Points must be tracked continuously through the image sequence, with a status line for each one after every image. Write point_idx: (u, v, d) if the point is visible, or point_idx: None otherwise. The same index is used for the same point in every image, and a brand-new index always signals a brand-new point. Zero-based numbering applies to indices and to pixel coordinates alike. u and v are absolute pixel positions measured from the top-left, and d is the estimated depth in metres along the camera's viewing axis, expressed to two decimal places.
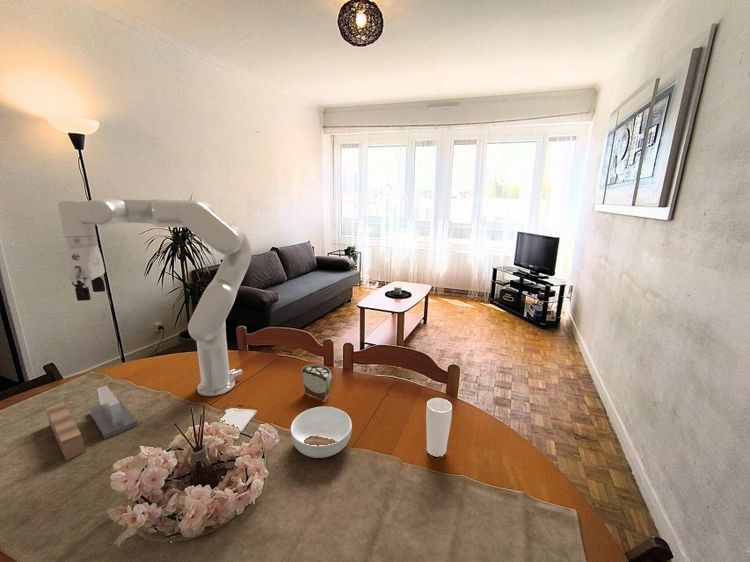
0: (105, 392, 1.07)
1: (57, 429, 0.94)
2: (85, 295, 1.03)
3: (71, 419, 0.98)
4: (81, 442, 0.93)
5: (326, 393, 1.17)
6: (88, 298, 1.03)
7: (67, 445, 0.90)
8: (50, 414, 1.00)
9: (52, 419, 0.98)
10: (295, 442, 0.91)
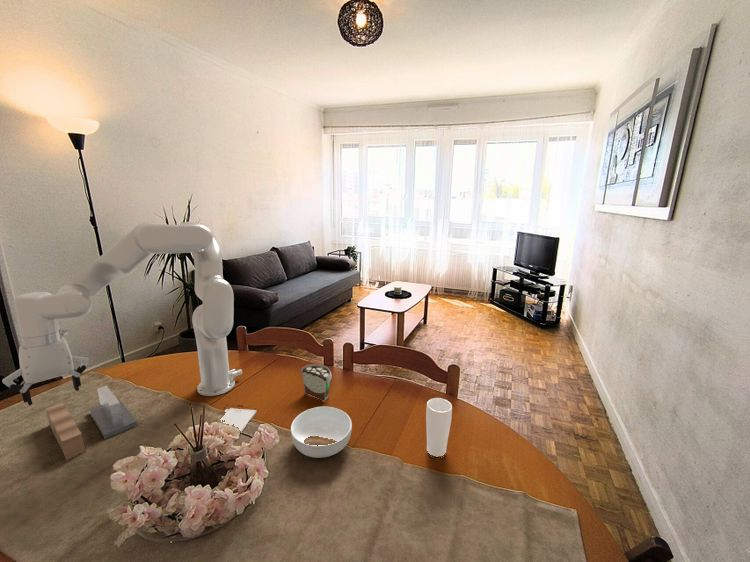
0: (105, 392, 1.07)
1: (57, 429, 0.94)
2: None
3: (71, 419, 0.98)
4: (82, 442, 0.93)
5: (326, 393, 1.17)
6: None
7: (68, 445, 0.90)
8: (50, 414, 1.00)
9: (52, 419, 0.98)
10: (295, 442, 0.91)
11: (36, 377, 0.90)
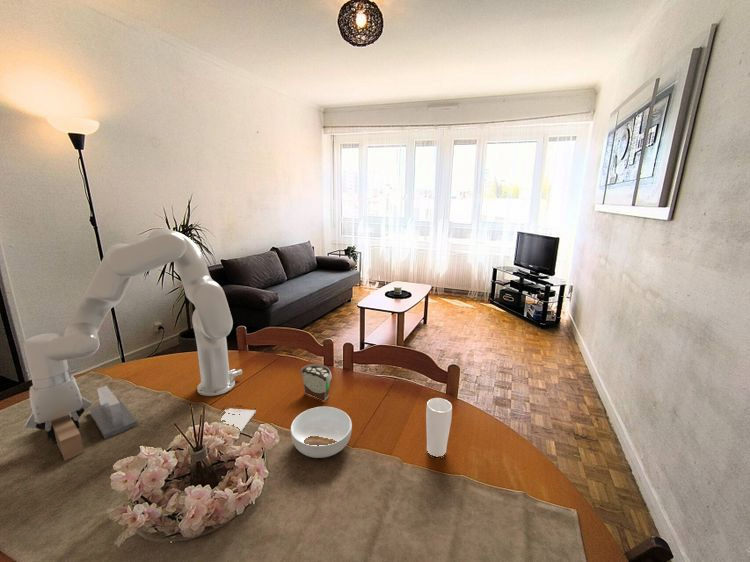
0: (105, 392, 1.07)
1: (56, 429, 0.94)
2: None
3: (70, 419, 0.98)
4: (80, 442, 0.92)
5: (326, 393, 1.17)
6: None
7: (66, 445, 0.90)
8: None
9: None
10: (295, 442, 0.91)
11: (47, 416, 0.93)
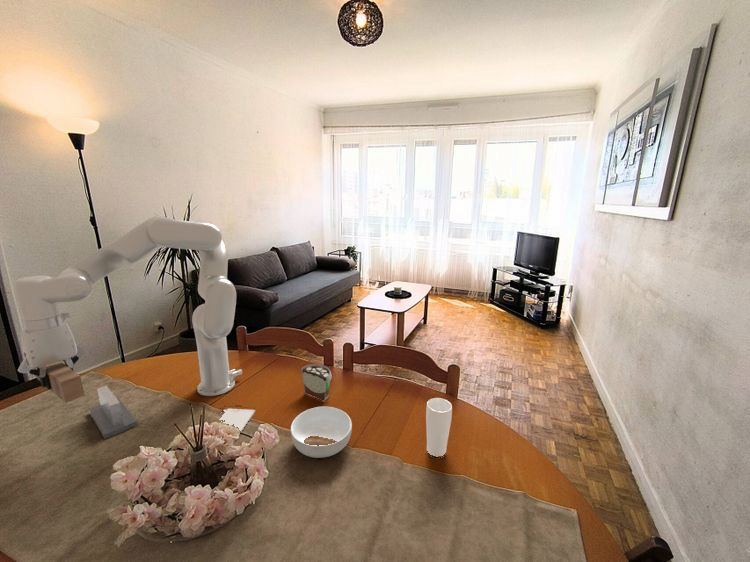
0: (105, 392, 1.07)
1: (52, 373, 0.91)
2: None
3: (64, 366, 0.95)
4: (80, 384, 0.91)
5: (326, 393, 1.17)
6: None
7: (66, 386, 0.88)
8: None
9: None
10: (295, 442, 0.91)
11: (41, 361, 0.90)
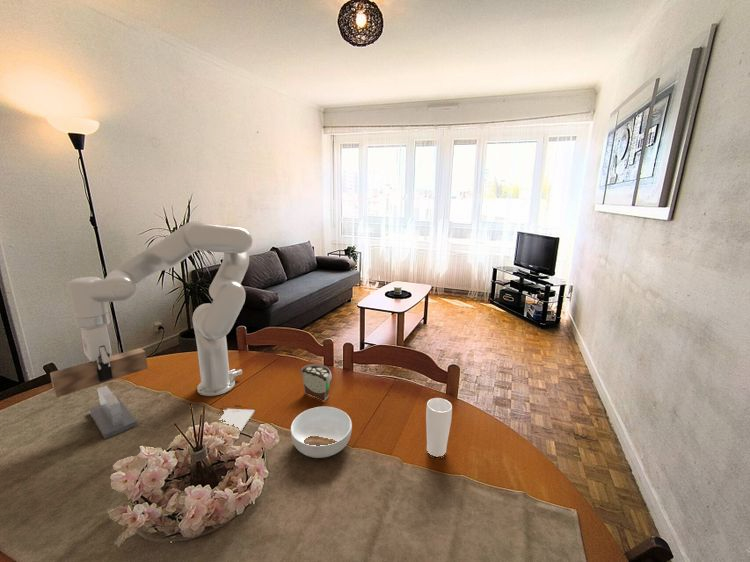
0: (105, 392, 1.07)
1: (118, 358, 1.04)
2: None
3: None
4: None
5: (326, 393, 1.17)
6: None
7: None
8: (74, 371, 0.96)
9: (90, 366, 0.99)
10: (295, 442, 0.91)
11: None
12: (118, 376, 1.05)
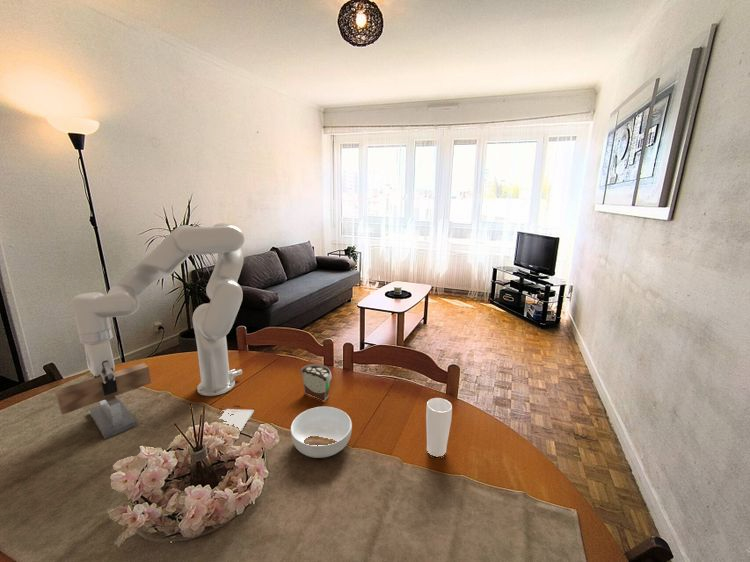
0: None
1: (122, 374, 1.05)
2: None
3: None
4: None
5: (326, 393, 1.17)
6: None
7: None
8: (79, 388, 0.98)
9: (94, 383, 1.00)
10: (295, 442, 0.91)
11: None
12: (122, 392, 1.06)
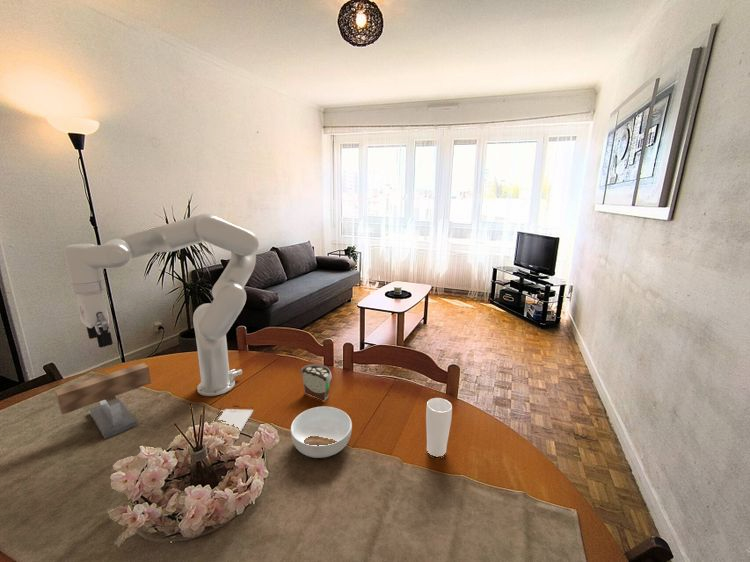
0: None
1: (122, 374, 1.05)
2: None
3: (108, 374, 1.06)
4: None
5: (326, 393, 1.17)
6: None
7: None
8: (79, 388, 0.98)
9: (94, 383, 1.00)
10: (295, 442, 0.91)
11: None
12: (122, 392, 1.06)
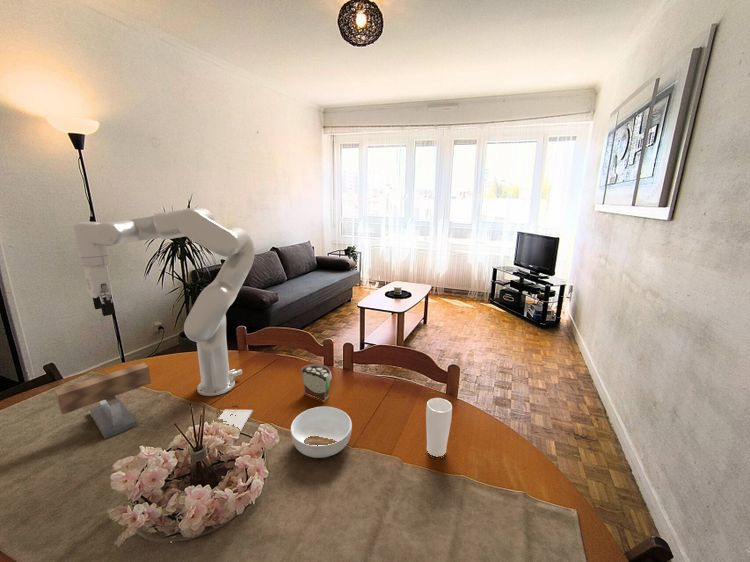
0: None
1: (122, 374, 1.05)
2: None
3: (108, 374, 1.06)
4: None
5: (326, 393, 1.17)
6: None
7: None
8: (79, 388, 0.98)
9: (94, 383, 1.00)
10: (295, 442, 0.91)
11: None
12: (122, 392, 1.06)
